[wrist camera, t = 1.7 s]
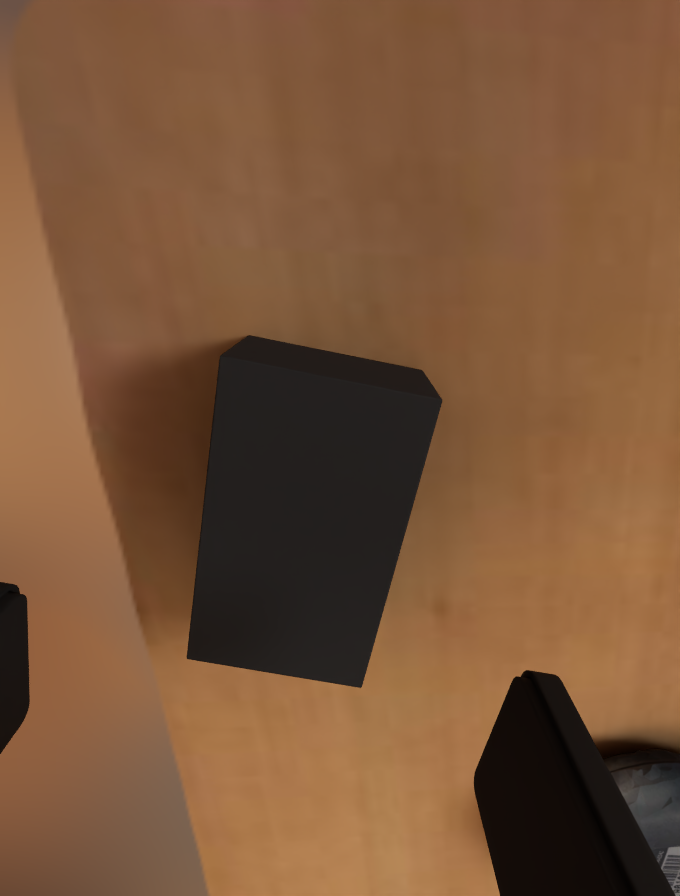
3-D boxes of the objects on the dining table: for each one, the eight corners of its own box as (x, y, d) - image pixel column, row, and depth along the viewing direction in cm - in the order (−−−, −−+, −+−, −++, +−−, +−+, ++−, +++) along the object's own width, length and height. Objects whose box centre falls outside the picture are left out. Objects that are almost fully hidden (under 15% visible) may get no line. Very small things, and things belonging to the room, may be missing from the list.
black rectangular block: (247, 334, 15) (219, 354, 12) (423, 369, 15) (443, 399, 12) (215, 588, 18) (186, 659, 15) (359, 613, 19) (361, 688, 15)
